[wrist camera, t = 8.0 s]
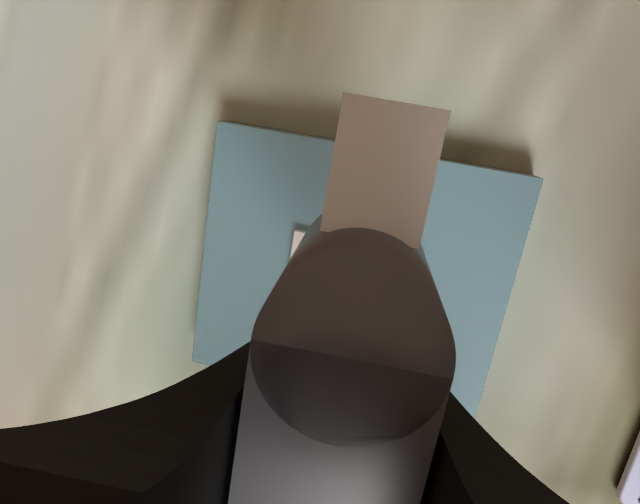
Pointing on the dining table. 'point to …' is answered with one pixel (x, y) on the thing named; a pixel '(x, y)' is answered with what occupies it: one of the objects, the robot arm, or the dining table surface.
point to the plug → (353, 330)
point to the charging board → (307, 205)
